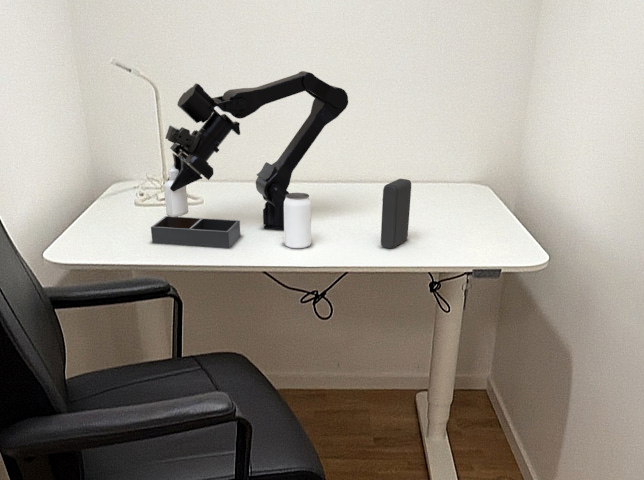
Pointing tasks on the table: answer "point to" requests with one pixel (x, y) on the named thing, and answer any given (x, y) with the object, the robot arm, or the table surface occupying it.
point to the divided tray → (196, 232)
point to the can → (297, 220)
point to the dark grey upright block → (395, 212)
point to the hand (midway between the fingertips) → (169, 188)
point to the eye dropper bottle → (175, 196)
